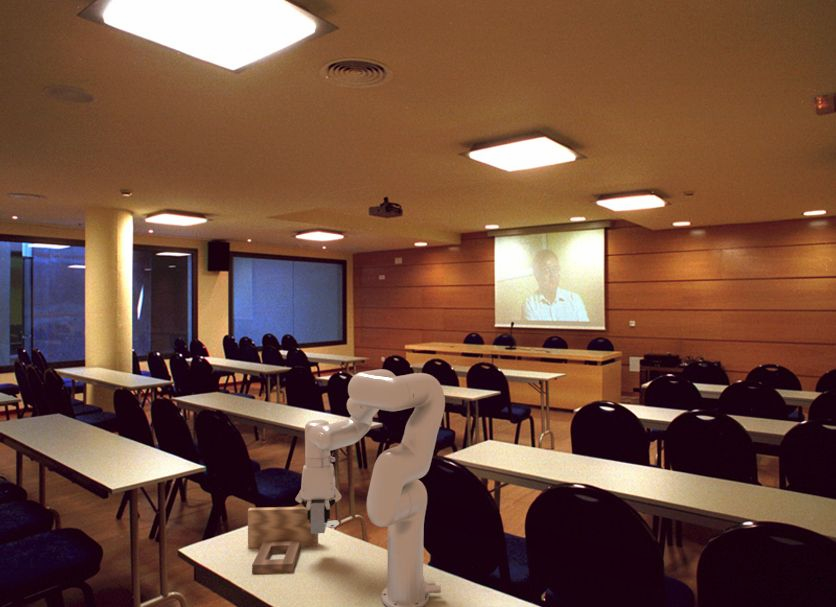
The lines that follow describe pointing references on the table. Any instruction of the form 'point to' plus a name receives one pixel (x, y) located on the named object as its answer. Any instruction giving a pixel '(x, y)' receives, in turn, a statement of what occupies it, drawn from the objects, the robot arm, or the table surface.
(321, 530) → the tall grey rectangular prism
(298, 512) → the wooden backboard stand
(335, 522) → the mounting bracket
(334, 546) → the table surface
